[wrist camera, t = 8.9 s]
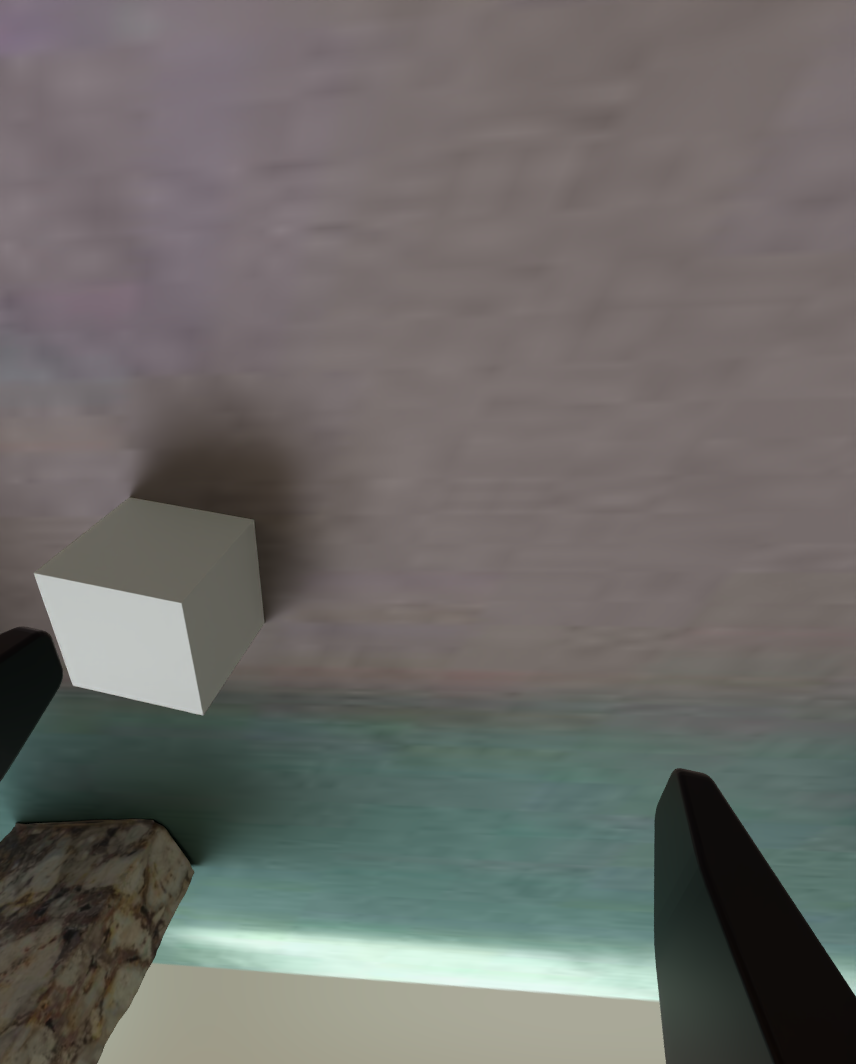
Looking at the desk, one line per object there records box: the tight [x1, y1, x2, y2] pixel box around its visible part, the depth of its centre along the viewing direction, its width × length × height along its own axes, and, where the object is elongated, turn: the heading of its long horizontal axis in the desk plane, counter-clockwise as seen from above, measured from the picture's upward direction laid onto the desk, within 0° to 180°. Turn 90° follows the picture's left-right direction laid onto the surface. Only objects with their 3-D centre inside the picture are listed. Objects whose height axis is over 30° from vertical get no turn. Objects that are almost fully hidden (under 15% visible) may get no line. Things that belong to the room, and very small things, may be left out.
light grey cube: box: [34, 497, 265, 715], centre depth 22 cm, size 5×5×5 cm
